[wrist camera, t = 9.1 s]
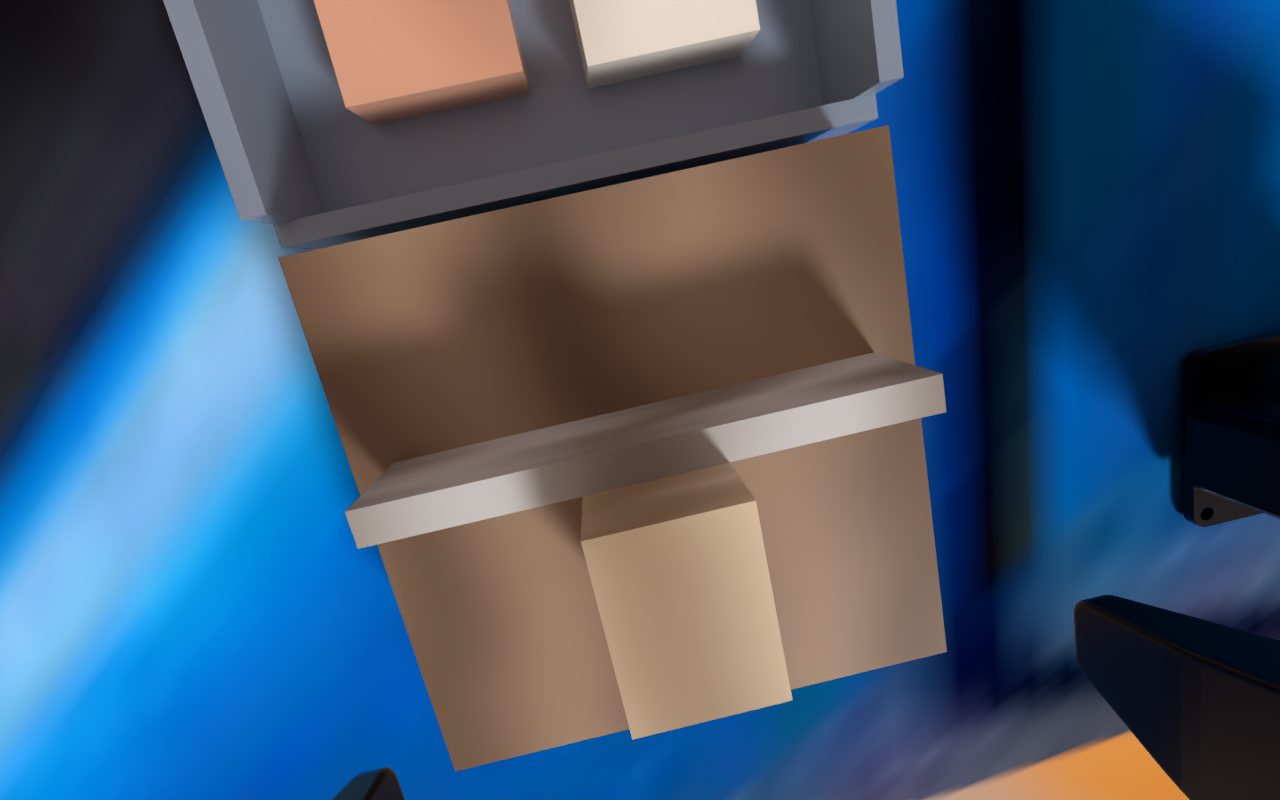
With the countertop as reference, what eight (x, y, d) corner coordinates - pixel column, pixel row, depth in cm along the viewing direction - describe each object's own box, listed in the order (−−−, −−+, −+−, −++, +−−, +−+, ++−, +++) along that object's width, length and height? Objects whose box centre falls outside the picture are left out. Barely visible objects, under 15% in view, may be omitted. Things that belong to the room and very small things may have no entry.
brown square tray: (811, 160, 19) (888, 125, 14) (867, 565, 22) (946, 651, 17) (361, 258, 18) (278, 257, 13) (485, 656, 22) (455, 771, 17)
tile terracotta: (523, 71, 15) (531, 92, 17) (474, -137, 14) (489, -89, 16) (345, 107, 15) (373, 125, 17) (284, -99, 14) (321, -55, 16)
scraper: (874, 352, 15) (1010, 395, 10) (896, 527, 16) (1028, 642, 11) (394, 462, 15) (296, 560, 10) (449, 634, 16) (387, 799, 11)
